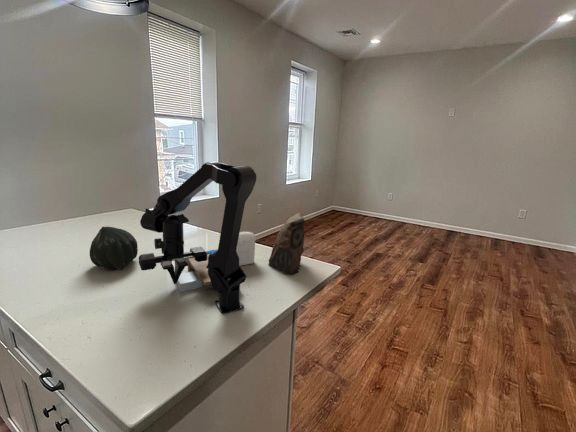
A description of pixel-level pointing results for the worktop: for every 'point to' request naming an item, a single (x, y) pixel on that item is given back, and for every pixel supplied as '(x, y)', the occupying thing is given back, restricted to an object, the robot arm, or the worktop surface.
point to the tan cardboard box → (200, 271)
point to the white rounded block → (246, 248)
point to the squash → (113, 248)
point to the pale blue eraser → (189, 281)
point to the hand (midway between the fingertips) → (174, 283)
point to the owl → (289, 246)
